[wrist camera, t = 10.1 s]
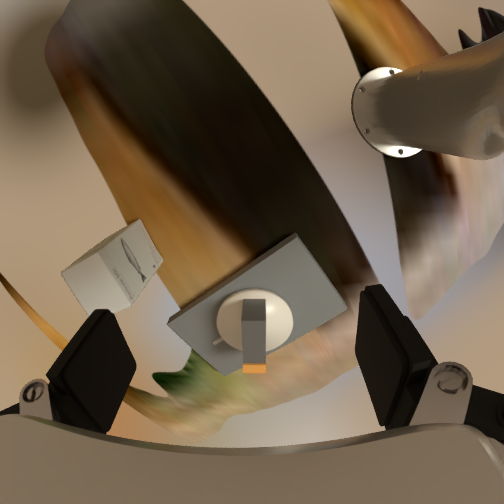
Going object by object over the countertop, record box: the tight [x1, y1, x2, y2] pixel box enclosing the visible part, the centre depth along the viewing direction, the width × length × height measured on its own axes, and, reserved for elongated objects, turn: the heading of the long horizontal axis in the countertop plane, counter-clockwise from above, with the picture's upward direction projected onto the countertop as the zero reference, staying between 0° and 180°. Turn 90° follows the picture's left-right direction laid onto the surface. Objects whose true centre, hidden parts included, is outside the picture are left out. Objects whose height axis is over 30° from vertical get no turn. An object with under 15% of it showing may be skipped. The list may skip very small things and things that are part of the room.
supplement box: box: [61, 219, 164, 316], centre depth 34 cm, size 7×7×13 cm
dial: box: [217, 288, 293, 373], centre depth 38 cm, size 11×11×6 cm
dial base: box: [167, 233, 347, 376], centre depth 42 cm, size 24×14×2 cm, turn 127°
